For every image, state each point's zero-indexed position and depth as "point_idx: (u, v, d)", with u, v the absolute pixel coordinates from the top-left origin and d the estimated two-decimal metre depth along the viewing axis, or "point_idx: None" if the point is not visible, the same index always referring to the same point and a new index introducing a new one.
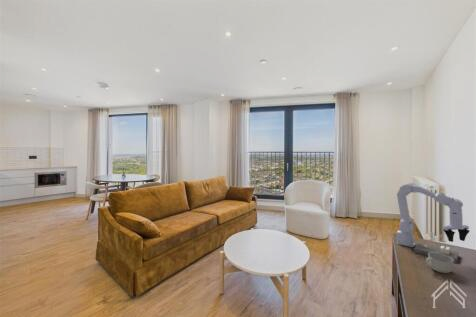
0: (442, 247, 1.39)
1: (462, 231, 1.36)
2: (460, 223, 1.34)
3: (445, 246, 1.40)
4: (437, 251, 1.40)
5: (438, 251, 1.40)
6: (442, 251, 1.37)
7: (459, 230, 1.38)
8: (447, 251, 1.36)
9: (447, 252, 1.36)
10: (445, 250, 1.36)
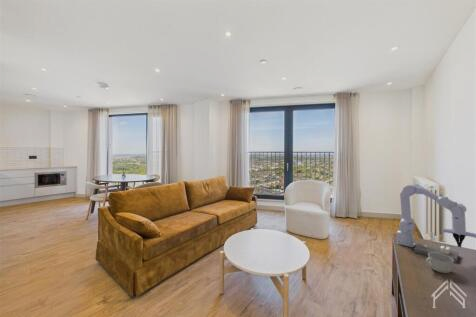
0: (442, 247, 1.39)
1: None
2: (457, 228, 1.31)
3: (445, 246, 1.40)
4: (437, 251, 1.40)
5: (438, 251, 1.40)
6: (442, 251, 1.37)
7: None
8: (447, 251, 1.36)
9: (447, 252, 1.36)
10: (445, 250, 1.36)
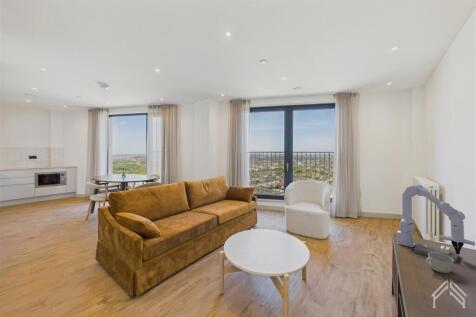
0: (442, 247, 1.39)
1: (458, 244, 1.33)
2: (456, 235, 1.32)
3: (445, 246, 1.40)
4: (437, 251, 1.40)
5: (438, 251, 1.40)
6: (442, 251, 1.37)
7: (458, 243, 1.35)
8: (447, 251, 1.36)
9: (447, 252, 1.36)
10: (445, 250, 1.36)
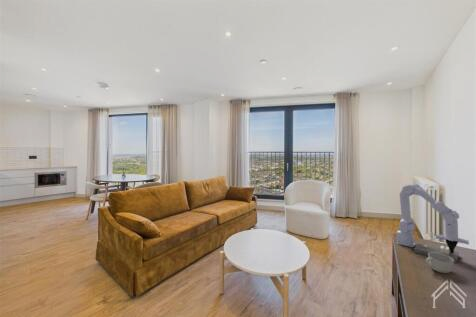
0: (442, 247, 1.39)
1: (452, 243, 1.35)
2: (450, 234, 1.34)
3: (445, 246, 1.40)
4: (437, 251, 1.40)
5: (438, 251, 1.40)
6: (442, 251, 1.37)
7: None
8: (447, 251, 1.36)
9: (447, 252, 1.36)
10: (445, 250, 1.36)
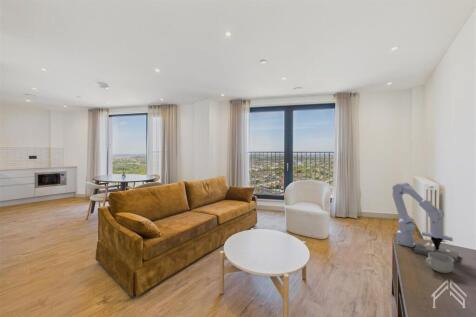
0: (428, 244, 1.44)
1: None
2: (435, 232, 1.39)
3: (431, 243, 1.45)
4: (437, 251, 1.40)
5: (438, 251, 1.40)
6: (428, 248, 1.43)
7: None
8: (432, 248, 1.41)
9: (432, 249, 1.41)
10: (430, 247, 1.42)
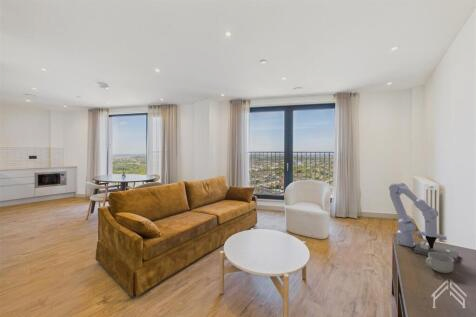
0: (422, 243, 1.46)
1: None
2: (429, 231, 1.41)
3: (425, 242, 1.47)
4: (437, 251, 1.40)
5: (438, 251, 1.40)
6: (422, 247, 1.45)
7: None
8: (427, 246, 1.43)
9: (427, 247, 1.43)
10: (425, 246, 1.44)
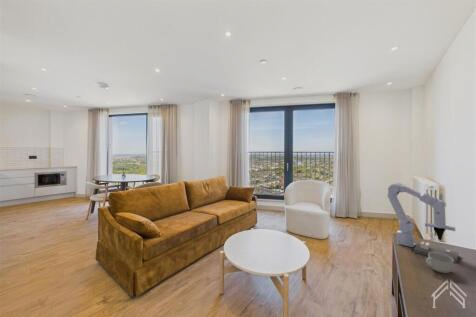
0: (422, 243, 1.46)
1: None
2: (438, 222, 1.41)
3: (425, 242, 1.47)
4: (437, 251, 1.40)
5: (438, 251, 1.40)
6: (422, 247, 1.45)
7: None
8: (426, 246, 1.43)
9: (426, 247, 1.43)
10: (425, 246, 1.44)
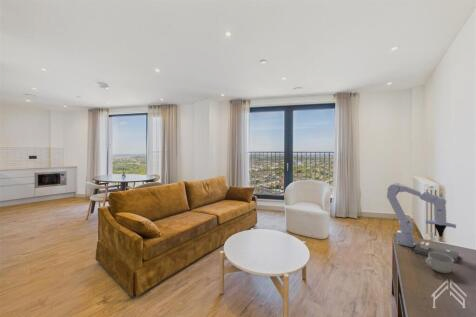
0: (422, 243, 1.46)
1: None
2: (439, 219, 1.42)
3: (425, 242, 1.47)
4: (437, 251, 1.40)
5: (438, 251, 1.40)
6: (422, 247, 1.45)
7: None
8: (426, 246, 1.43)
9: (426, 247, 1.43)
10: (425, 246, 1.44)
